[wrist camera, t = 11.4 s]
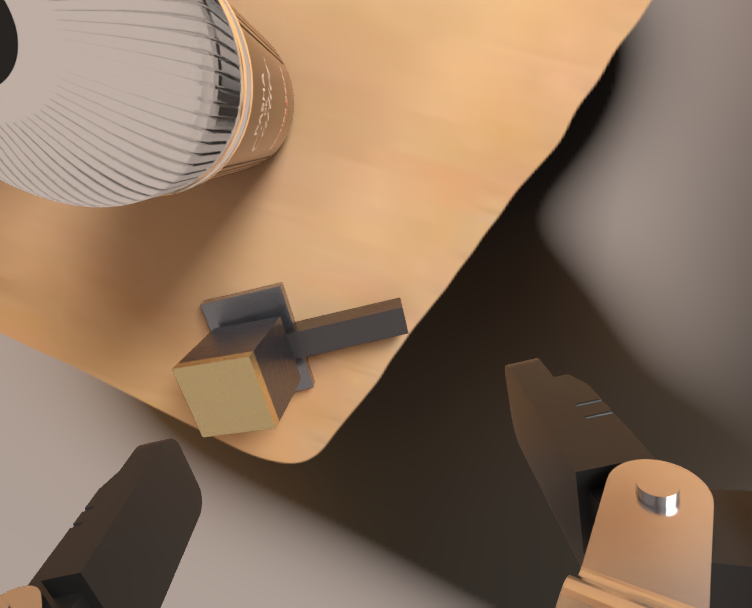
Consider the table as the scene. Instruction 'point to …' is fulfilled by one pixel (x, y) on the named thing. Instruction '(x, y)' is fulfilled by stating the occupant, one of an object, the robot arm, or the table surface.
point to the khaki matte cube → (239, 377)
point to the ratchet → (308, 323)
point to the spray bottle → (134, 97)
